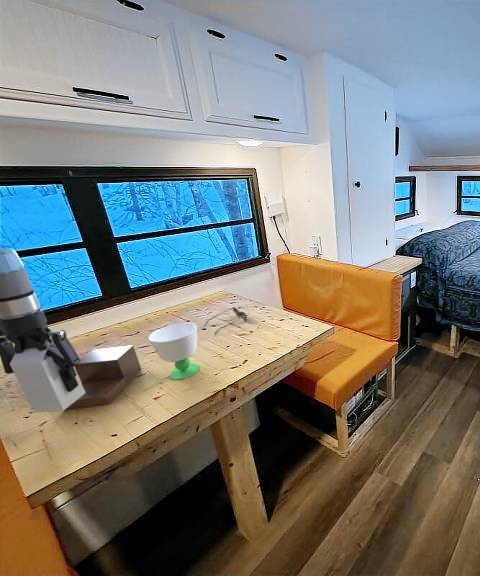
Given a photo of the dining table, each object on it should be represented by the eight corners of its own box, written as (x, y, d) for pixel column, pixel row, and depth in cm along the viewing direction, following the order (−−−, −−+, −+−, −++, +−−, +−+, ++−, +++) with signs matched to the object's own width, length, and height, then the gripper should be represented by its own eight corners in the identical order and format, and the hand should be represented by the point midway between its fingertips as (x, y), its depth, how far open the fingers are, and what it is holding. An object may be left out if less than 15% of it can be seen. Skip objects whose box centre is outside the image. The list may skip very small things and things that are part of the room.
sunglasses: (249, 323, 141) (246, 314, 139) (216, 338, 131) (212, 328, 129) (235, 315, 150) (232, 306, 148) (203, 328, 140) (200, 318, 138)
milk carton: (63, 411, 80) (34, 348, 73) (34, 413, 79) (1, 350, 73) (86, 393, 87) (60, 334, 80) (59, 395, 86) (31, 335, 79)
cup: (167, 365, 110) (154, 326, 105) (209, 357, 115) (199, 319, 109) (156, 388, 98) (141, 345, 93) (204, 377, 103) (193, 336, 97)
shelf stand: (63, 410, 90) (49, 382, 86) (103, 374, 106) (93, 349, 103) (109, 404, 92) (98, 376, 88) (141, 369, 108) (133, 345, 105)
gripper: (79, 303, 79) (107, 377, 87) (-17, 310, 75) (22, 386, 83) (56, 315, 72) (89, 394, 80) (-51, 324, 68) (-5, 405, 76)
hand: (55, 390), depth 81 cm, fingers closed on milk carton, 7 cm apart
